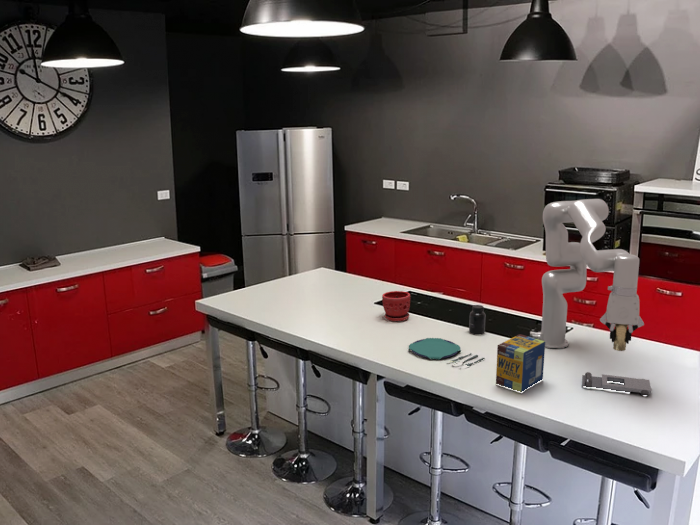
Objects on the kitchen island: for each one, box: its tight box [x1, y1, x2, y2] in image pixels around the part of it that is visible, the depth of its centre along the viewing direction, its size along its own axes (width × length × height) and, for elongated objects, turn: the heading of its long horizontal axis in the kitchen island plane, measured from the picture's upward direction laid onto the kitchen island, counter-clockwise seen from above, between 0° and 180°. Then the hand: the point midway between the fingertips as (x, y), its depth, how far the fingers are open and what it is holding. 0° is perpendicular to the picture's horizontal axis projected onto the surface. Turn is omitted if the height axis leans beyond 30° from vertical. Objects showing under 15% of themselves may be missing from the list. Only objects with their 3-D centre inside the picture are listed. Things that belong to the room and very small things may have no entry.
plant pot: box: [381, 290, 411, 322], centre depth 293 cm, size 13×13×12 cm
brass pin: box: [612, 324, 629, 352], centre depth 215 cm, size 4×4×10 cm
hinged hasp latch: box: [581, 371, 652, 396], centre depth 219 cm, size 22×10×2 cm, turn 69°
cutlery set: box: [408, 337, 486, 366], centre depth 251 cm, size 20×30×2 cm, turn 39°
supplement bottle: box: [468, 304, 487, 335], centre depth 274 cm, size 7×7×12 cm
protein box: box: [495, 333, 546, 392], centre depth 223 cm, size 10×15×16 cm
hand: (620, 341), depth 215 cm, fingers closed on brass pin, 4 cm apart
